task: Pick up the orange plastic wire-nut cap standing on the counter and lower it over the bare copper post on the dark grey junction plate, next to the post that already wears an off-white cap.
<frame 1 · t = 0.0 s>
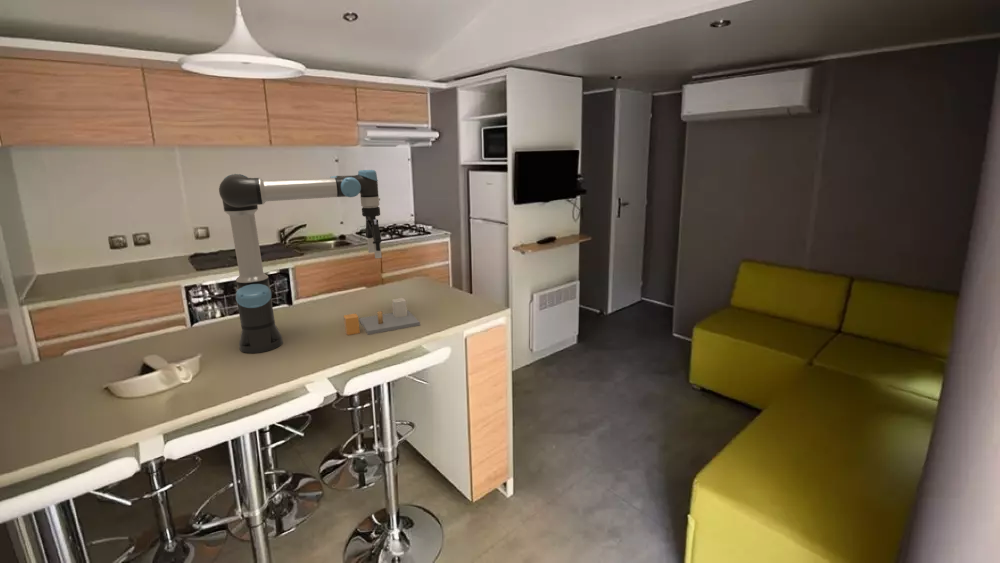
hand: (374, 255, 213), 28 cm above the counter, fingers open, 13 cm apart
orange cap: (352, 332, 200), on the counter
junction plate: (389, 323, 209), on the counter
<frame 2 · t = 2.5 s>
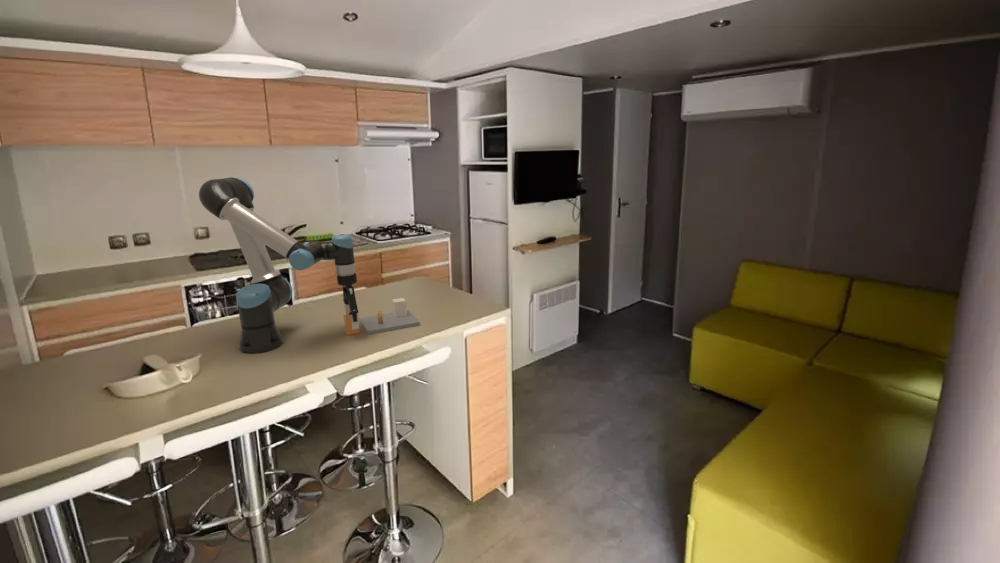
hand: (352, 323, 199), 4 cm above the counter, fingers open, 13 cm apart
nothing on the counter moved.
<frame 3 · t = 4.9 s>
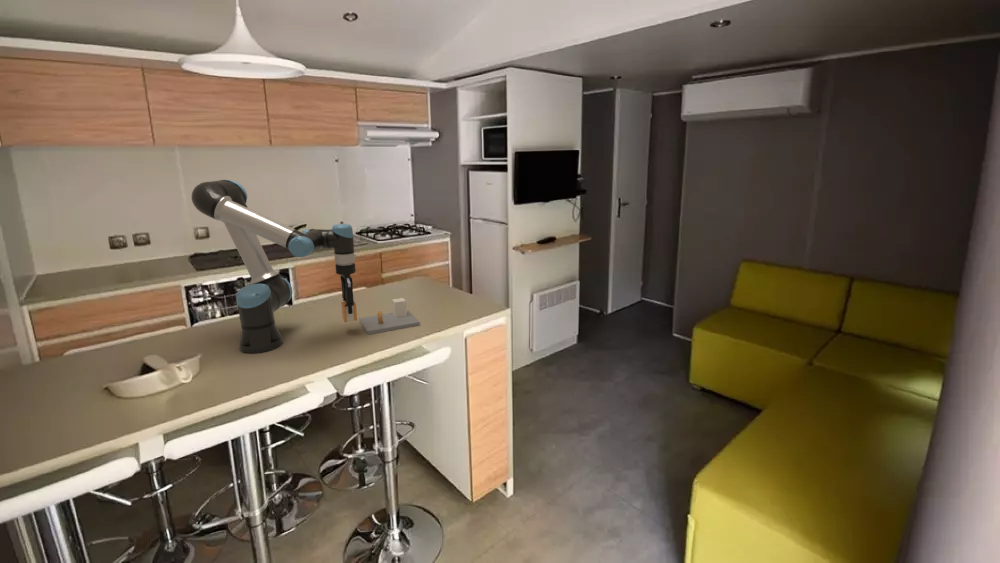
hand: (349, 318, 198), 6 cm above the counter, fingers closed on orange cap, 5 cm apart
orange cap: (349, 319, 199), point 6 cm above the counter, touching gripper
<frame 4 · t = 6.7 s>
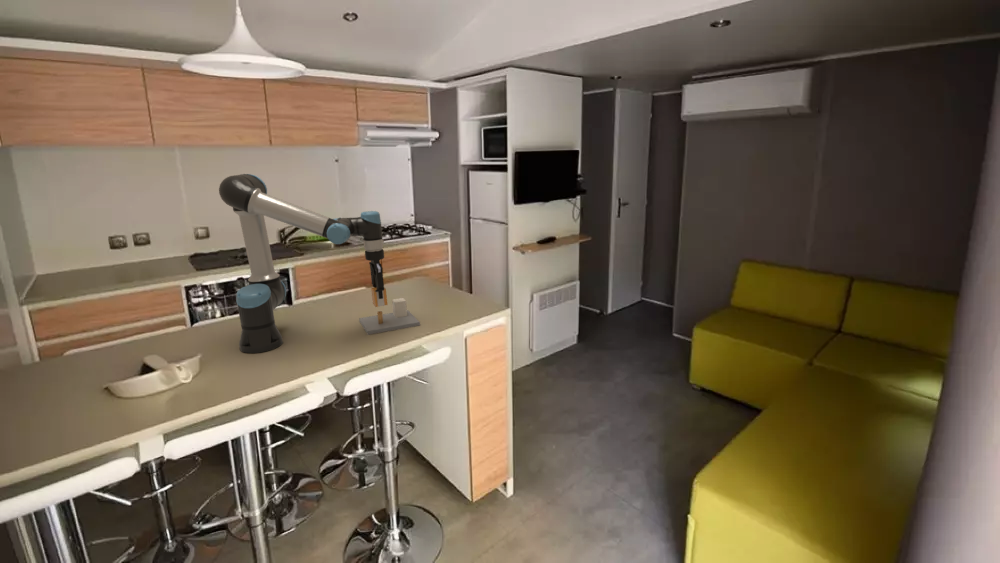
hand: (379, 303, 203), 10 cm above the counter, fingers closed on orange cap, 5 cm apart
orange cap: (380, 304, 204), point 10 cm above the counter, touching gripper
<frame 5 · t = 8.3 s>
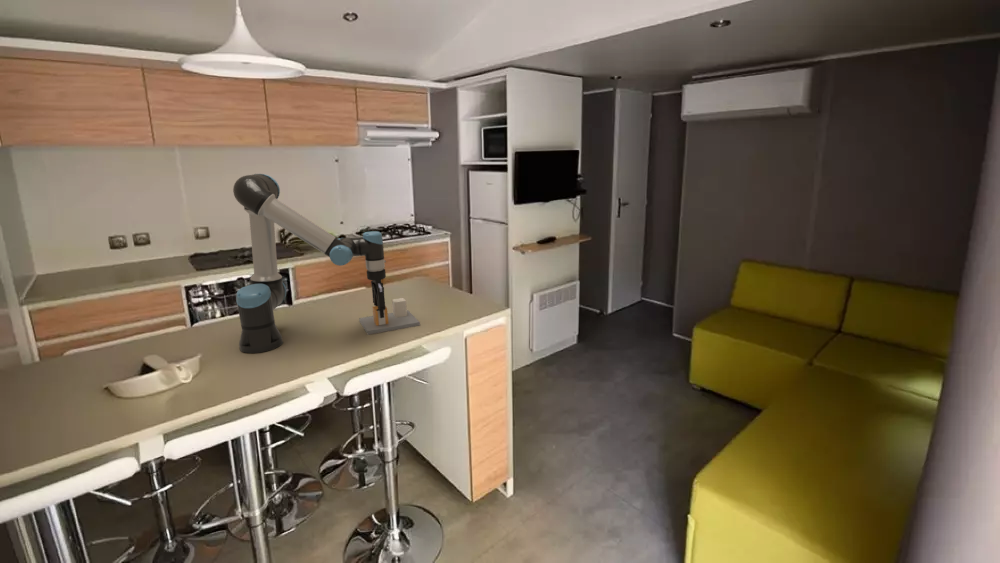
hand: (380, 322, 205), 2 cm above the counter, fingers closed on orange cap, 5 cm apart
orange cap: (381, 322, 206), point 2 cm above the counter, touching gripper, junction plate
when the fingers open (2 cm above the counter, at t = 8.8 s): orange cap stays where it is, resting on junction plate.
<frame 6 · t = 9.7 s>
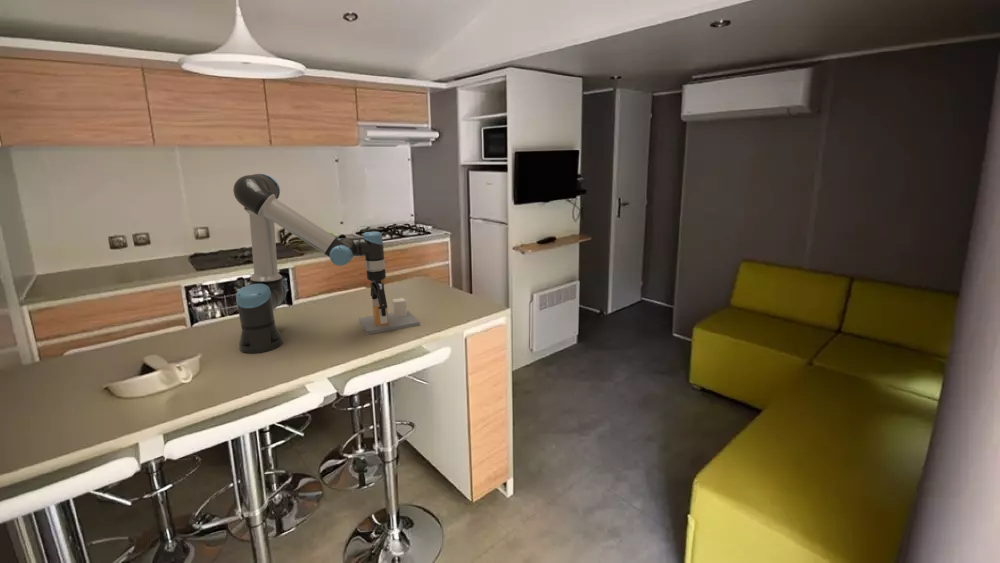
hand: (380, 318, 205), 4 cm above the counter, fingers open, 13 cm apart
orange cap: (381, 322, 206), point 1 cm above the counter, touching junction plate
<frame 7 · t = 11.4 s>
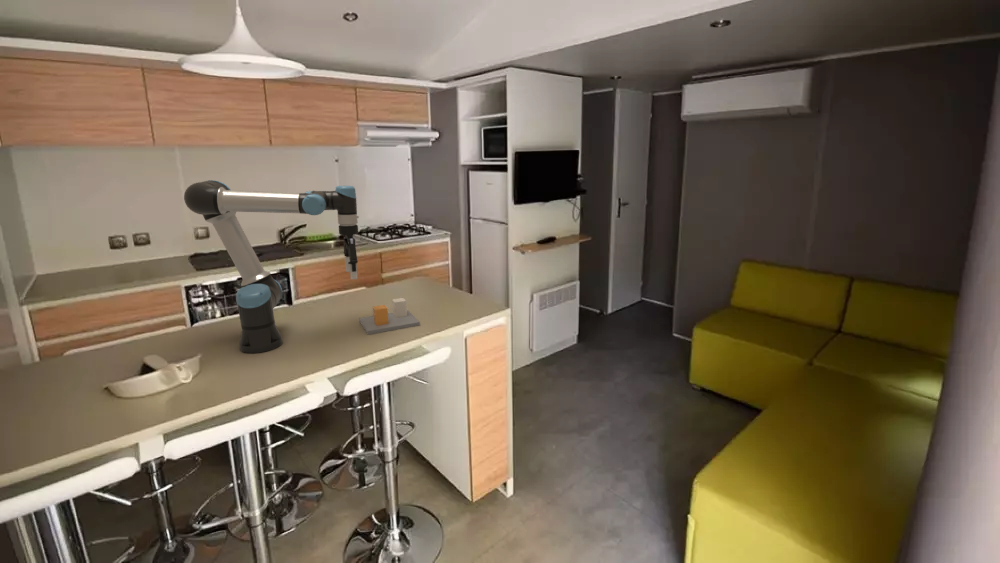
hand: (351, 275, 202), 22 cm above the counter, fingers open, 13 cm apart
nothing on the counter moved.
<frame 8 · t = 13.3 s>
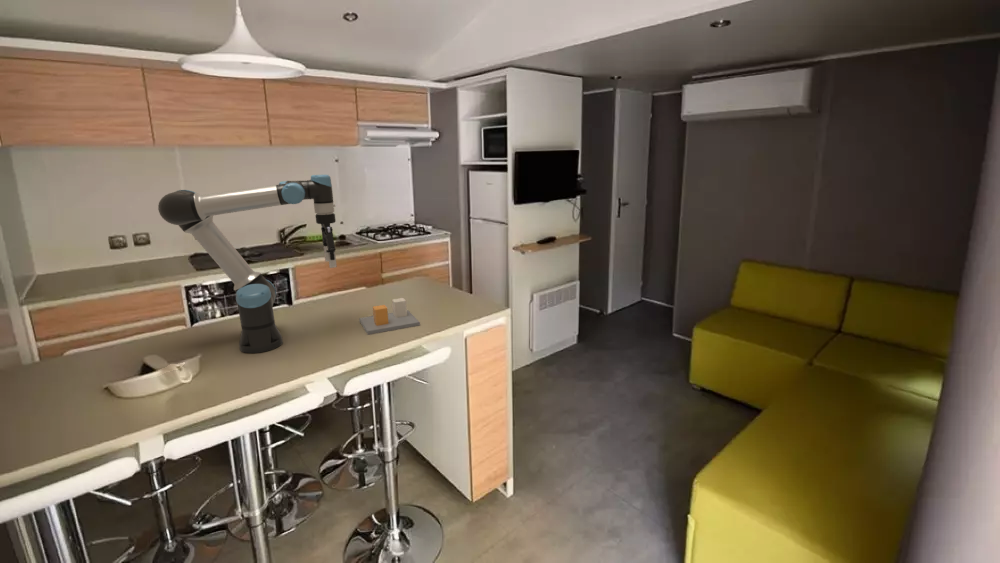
hand: (330, 264, 203), 27 cm above the counter, fingers open, 13 cm apart
nothing on the counter moved.
at the end: orange cap 0.2 cm from the target spot, point 1.5 cm above the counter; orange cap tilted 0°; the gripper is holding nothing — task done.
